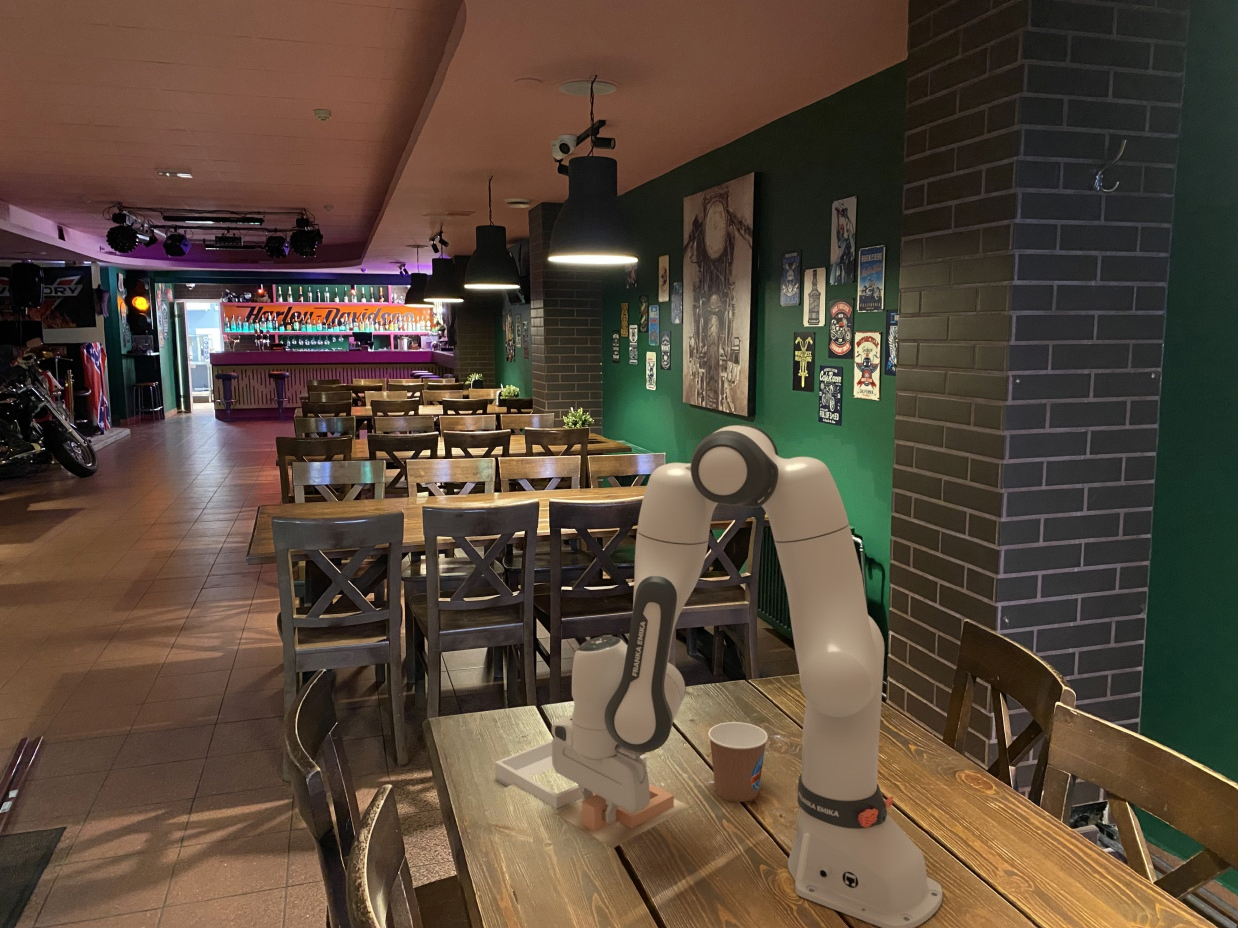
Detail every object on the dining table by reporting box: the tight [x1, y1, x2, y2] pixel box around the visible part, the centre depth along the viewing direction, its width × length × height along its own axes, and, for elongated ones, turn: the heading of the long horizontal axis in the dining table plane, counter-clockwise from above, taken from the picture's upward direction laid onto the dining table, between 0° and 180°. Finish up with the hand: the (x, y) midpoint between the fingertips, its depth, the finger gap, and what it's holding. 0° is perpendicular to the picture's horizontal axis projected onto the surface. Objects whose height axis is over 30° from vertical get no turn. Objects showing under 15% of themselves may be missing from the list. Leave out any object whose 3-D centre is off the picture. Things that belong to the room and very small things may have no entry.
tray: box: [494, 738, 647, 809], centre depth 163 cm, size 18×22×4 cm
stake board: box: [555, 752, 691, 849], centre depth 148 cm, size 14×18×13 cm
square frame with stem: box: [581, 782, 675, 831], centre depth 148 cm, size 10×15×4 cm, turn 134°
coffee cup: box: [707, 721, 769, 803], centre depth 155 cm, size 10×10×12 cm
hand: (599, 815), depth 145 cm, fingers closed on square frame with stem, 3 cm apart
